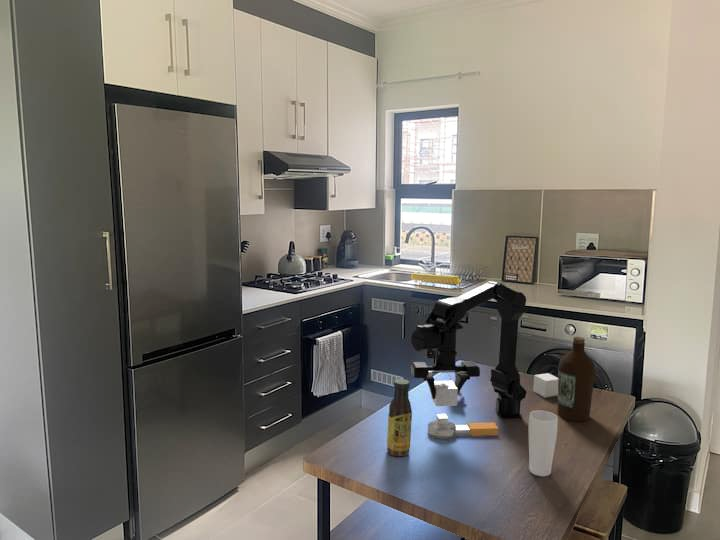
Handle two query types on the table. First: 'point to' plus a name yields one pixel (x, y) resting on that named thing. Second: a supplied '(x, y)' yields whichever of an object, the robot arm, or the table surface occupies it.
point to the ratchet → (458, 428)
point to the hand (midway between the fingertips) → (444, 398)
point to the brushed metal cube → (445, 393)
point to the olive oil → (575, 383)
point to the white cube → (546, 385)
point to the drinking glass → (542, 441)
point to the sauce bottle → (399, 420)
